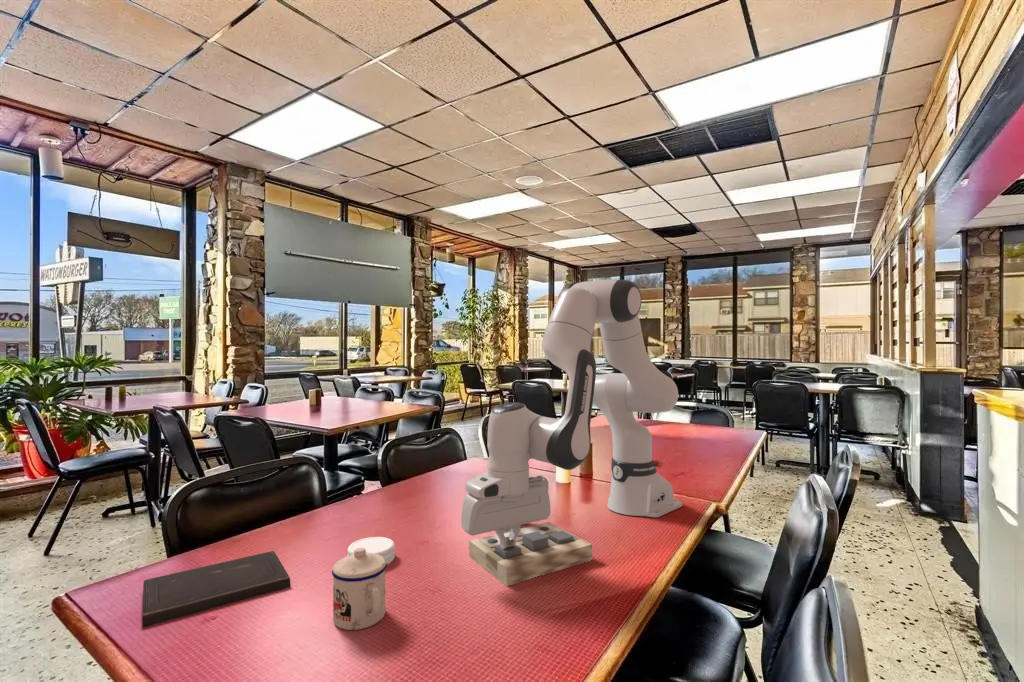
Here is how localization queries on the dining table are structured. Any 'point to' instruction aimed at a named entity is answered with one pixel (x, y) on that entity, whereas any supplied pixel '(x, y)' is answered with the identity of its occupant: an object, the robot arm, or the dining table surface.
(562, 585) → the dining table surface
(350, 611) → the teacup with lid
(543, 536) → the middle button
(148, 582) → the hardcover book
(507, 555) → the button
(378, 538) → the white round disc stack
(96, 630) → the dining table surface
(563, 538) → the button
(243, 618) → the dining table surface
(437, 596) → the dining table surface
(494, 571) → the button board
